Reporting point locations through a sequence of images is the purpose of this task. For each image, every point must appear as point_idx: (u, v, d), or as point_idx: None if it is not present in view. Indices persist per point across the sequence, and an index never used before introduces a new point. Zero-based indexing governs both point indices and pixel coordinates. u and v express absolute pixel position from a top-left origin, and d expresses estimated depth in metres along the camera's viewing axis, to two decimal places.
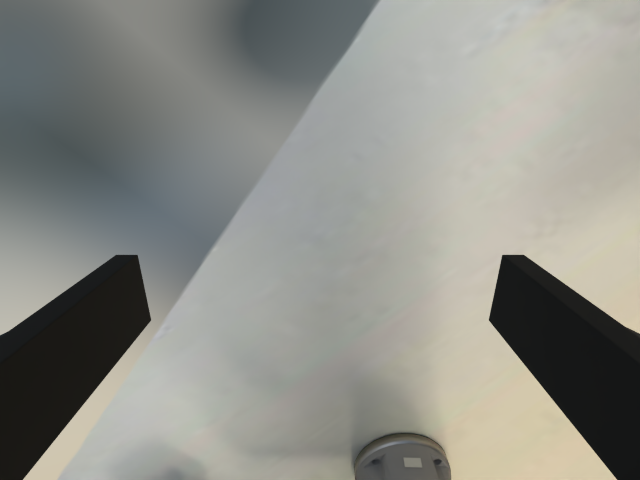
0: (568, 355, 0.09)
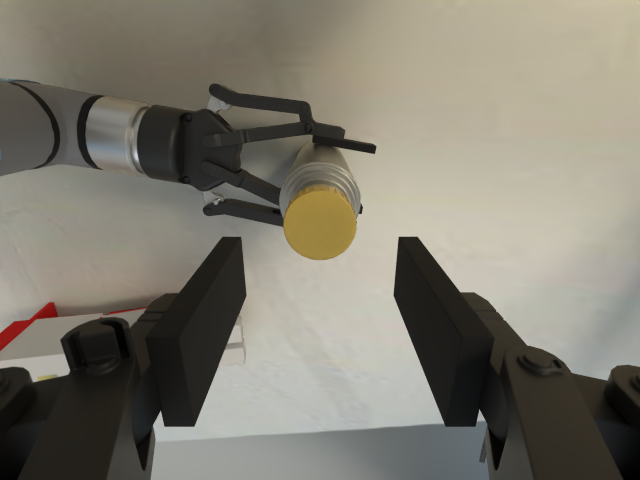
0: (422, 315, 0.11)
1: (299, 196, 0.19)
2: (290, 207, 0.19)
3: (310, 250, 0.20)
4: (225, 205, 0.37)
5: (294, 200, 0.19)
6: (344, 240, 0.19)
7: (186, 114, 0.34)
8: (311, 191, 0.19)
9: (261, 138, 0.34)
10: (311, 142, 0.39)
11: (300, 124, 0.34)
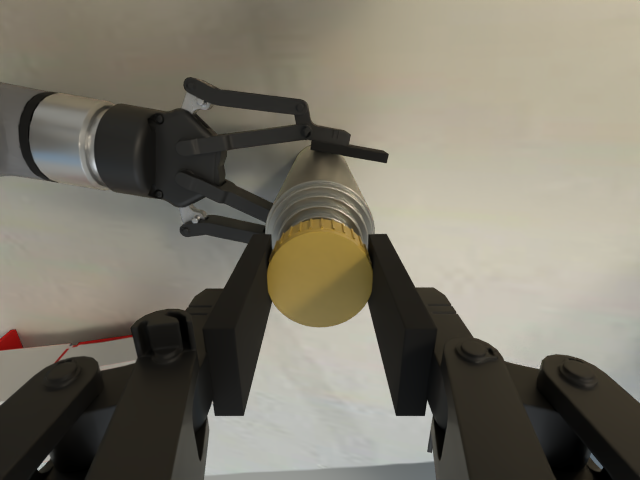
0: (382, 309, 0.11)
1: (289, 238, 0.12)
2: (276, 254, 0.13)
3: (306, 314, 0.13)
4: (206, 224, 0.31)
5: (282, 244, 0.13)
6: (355, 300, 0.13)
7: (156, 115, 0.28)
8: (307, 231, 0.12)
9: (248, 144, 0.28)
10: (309, 148, 0.32)
11: (296, 127, 0.28)
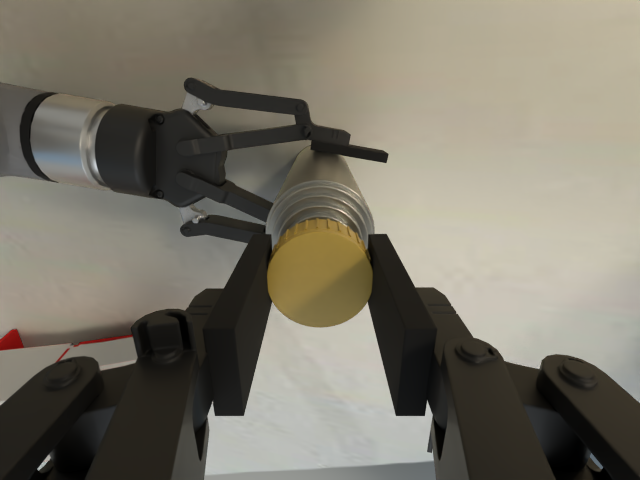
0: (382, 309, 0.11)
1: None
2: (283, 312, 0.13)
3: (352, 302, 0.13)
4: (207, 224, 0.31)
5: None
6: (350, 253, 0.13)
7: (157, 115, 0.28)
8: (267, 280, 0.13)
9: (249, 144, 0.28)
10: (309, 148, 0.32)
11: (296, 127, 0.28)
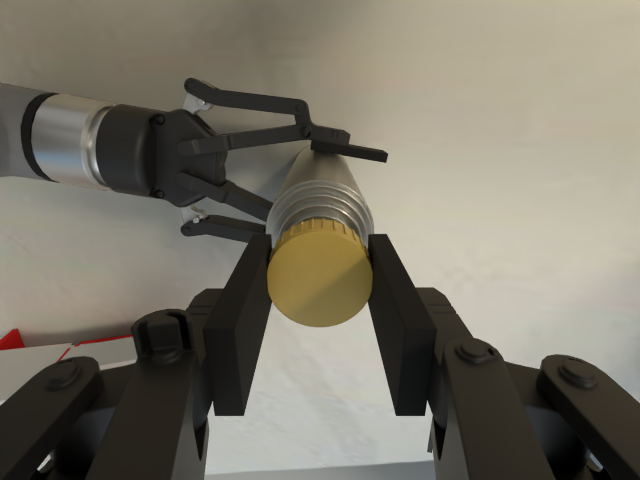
0: (382, 309, 0.11)
1: None
2: (344, 320, 0.14)
3: (349, 257, 0.13)
4: (207, 224, 0.31)
5: None
6: (295, 249, 0.12)
7: (157, 115, 0.28)
8: None
9: (249, 144, 0.28)
10: (309, 148, 0.33)
11: (296, 127, 0.28)
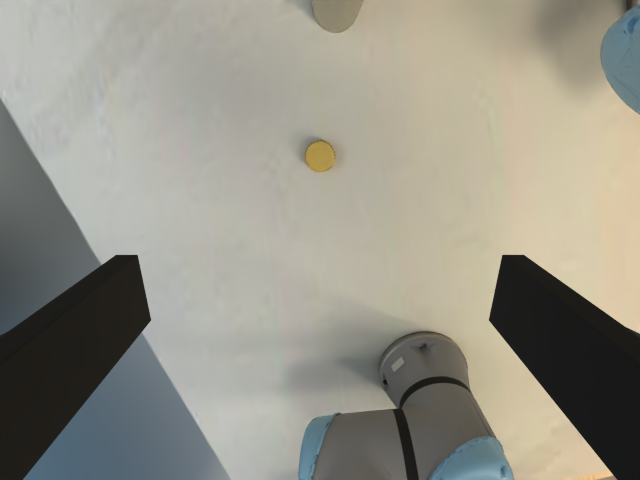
0: (568, 355, 0.09)
1: (307, 149, 0.47)
2: (306, 154, 0.47)
3: (321, 168, 0.47)
4: None
5: (306, 151, 0.47)
6: (331, 158, 0.47)
7: None
8: (310, 145, 0.47)
9: None
10: None
11: None
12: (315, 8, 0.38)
